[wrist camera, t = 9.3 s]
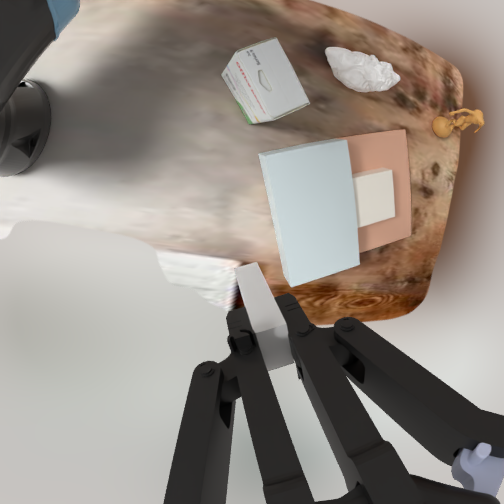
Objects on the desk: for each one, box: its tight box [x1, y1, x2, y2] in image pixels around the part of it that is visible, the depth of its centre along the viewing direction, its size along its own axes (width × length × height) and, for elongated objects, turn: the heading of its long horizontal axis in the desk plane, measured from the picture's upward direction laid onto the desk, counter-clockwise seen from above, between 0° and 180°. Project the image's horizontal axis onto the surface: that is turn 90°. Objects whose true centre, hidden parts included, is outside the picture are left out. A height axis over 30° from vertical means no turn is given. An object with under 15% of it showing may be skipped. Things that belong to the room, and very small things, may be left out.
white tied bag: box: [325, 47, 400, 92], centre depth 33 cm, size 12×8×11 cm
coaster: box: [352, 167, 395, 228], centre depth 43 cm, size 8×8×2 cm
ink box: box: [221, 37, 310, 124], centre depth 30 cm, size 9×5×12 cm, turn 28°
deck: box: [259, 139, 360, 287], centre depth 42 cm, size 20×12×4 cm, turn 13°
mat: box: [334, 129, 411, 253], centre depth 45 cm, size 20×14×1 cm
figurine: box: [432, 108, 484, 138], centre depth 36 cm, size 8×6×12 cm
